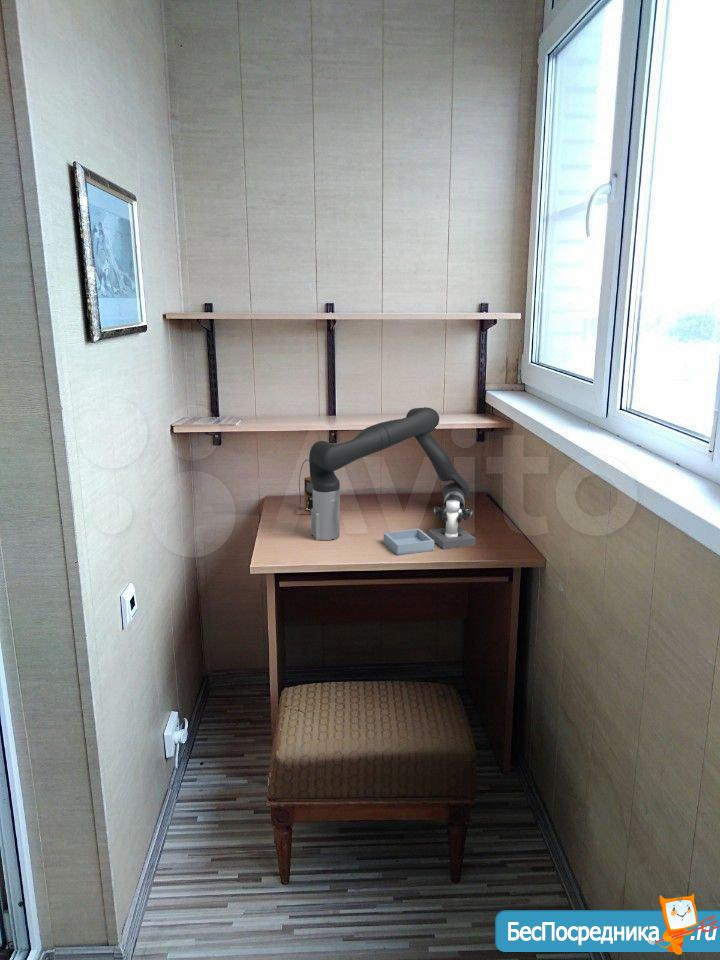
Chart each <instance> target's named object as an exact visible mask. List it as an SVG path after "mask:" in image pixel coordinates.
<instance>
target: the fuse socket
mask: <svg viewBox="0 0 720 960" xmlns="http://www.w3.org/2000/svg"><path fill="white" fill-rule="evenodd" d="M445 531H446V527H442V528H435V529H434V528H433V529H428V530H427V535H428V536H429V537H430V538H431V539H433V540H434V544H436V546H439V547H440V548H441V549H442V550H449V549H456V548H463V547H469V546H475V545H476V537H475V536H474V535H472V534H471V533H470V532H468V531H466V530H465V529H463V528H462V527H461V526H459V525H458V531H457V532H458V537H451V538H447V537H446V536H445Z"/></svg>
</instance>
